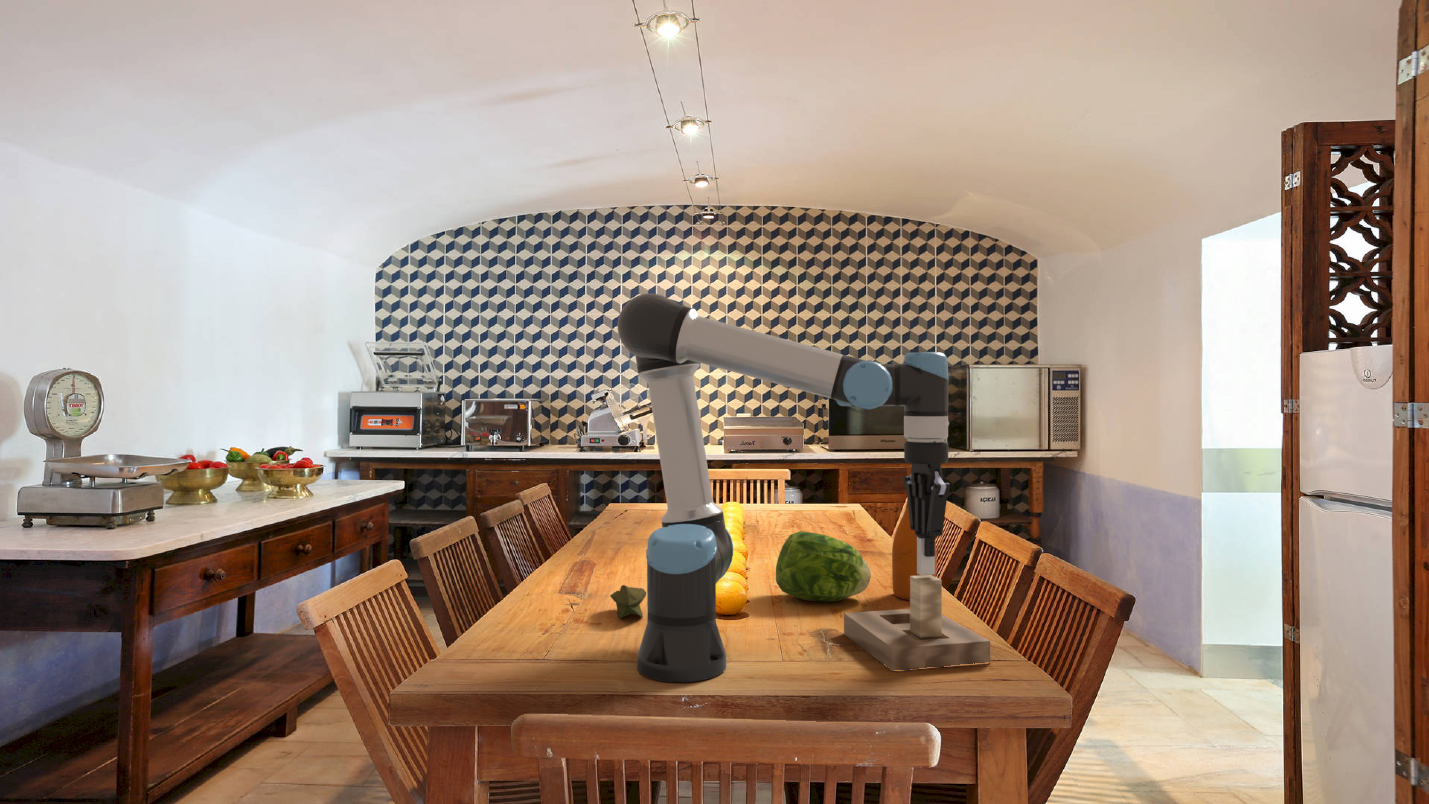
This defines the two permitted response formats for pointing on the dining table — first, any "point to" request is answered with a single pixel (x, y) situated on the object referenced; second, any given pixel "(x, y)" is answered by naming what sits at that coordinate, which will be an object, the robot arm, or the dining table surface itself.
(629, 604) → the fruit
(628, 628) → the dining table surface
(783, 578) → the lettuce
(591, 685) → the dining table surface
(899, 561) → the wine bottle
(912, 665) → the board
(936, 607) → the peg
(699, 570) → the robot arm
